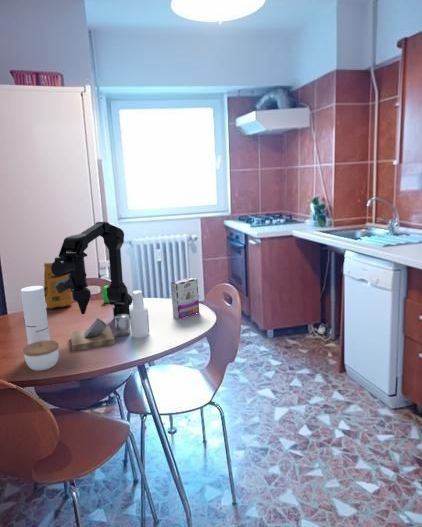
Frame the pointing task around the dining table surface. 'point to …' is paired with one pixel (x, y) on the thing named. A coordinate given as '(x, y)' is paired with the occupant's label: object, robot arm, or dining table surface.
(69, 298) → the coffee package
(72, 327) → the dining table surface
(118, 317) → the clear glass jar
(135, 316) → the spray bottle
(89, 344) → the bore block
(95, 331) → the square bit
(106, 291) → the mechanical part
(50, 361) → the lidded jar
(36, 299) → the cylindrical container
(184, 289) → the candy bar box
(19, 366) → the dining table surface
